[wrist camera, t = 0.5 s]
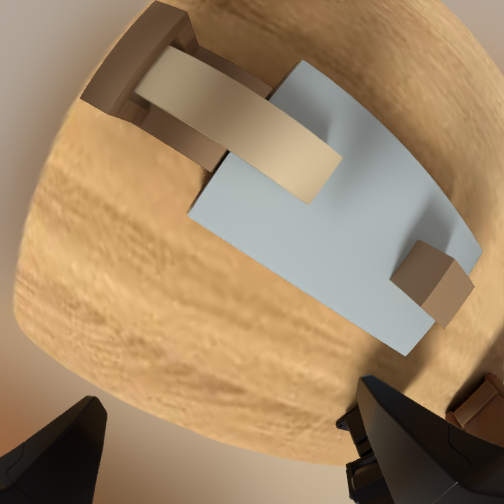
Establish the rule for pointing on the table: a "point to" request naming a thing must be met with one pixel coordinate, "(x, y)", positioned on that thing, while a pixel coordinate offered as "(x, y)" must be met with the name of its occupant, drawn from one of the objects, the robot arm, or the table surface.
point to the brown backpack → (483, 412)
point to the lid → (350, 221)
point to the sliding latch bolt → (240, 122)
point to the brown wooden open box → (136, 66)
